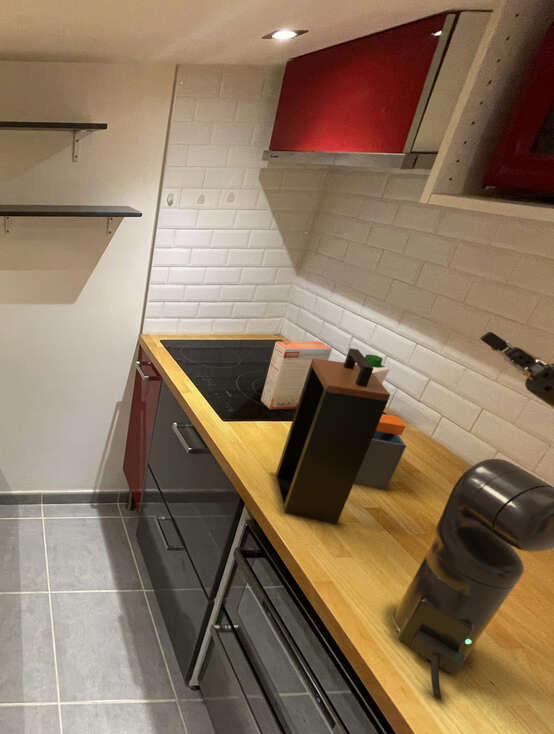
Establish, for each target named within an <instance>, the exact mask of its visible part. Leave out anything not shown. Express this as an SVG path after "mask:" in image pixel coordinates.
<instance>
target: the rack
mask: <svg viewBox="0 0 554 734" xmlns="http://www.w3.org/2000/svg"><path fill="white" fill-rule="evenodd" d="M355 363H357V364H355ZM372 371H373V367H372V366H371V364H370V363H369V362H368V361H367V360H366V358H365V356H364V355H363V354H362V353H361V351H360V350H359V349H358V348H349V349H348V351H347V354H346V357H345V360H344V361H335V360H329V359H328V360H322V359H314V358H313V359H312V362H311V365H310V368H309V371H308V374H307V377H306V381H305V384H304V387H303V390H302V393H301V396H300V399H299V402H298V406H297V409H295V412H294V415H293V418H292V421H291V424H290V428H289V432H288V434H287V436H286V437H287V438H286V441H285V444H284V447H283V449H282V452H281V456H280V459H279V462H278V465H277V469H276V471H275V475H274V477H275V481H276V485H277V489H278V493H279V496H280V501H281V505H282V509H283V512H284V513H285V514H288V515H292V516H293V515H294V516H298V517H300V518H301V517H302V518H307V519H310V520H315V521H318V522H323V523H327V524H332V525H338V522H339V521H340V517H341V515H342V513H343V511H344V508H345V505H346V503H347V501H348V498H349V495H350V494H351V491H352V489H353V486H354V484H355V483H354V481H355V479H356V477H357V474H358V472H359V469H360V467H361V465H362V462H363V460H364V457H365V455H366V453H367V450H368V448H369V445H370V443H371V441H372V438H373V436H374V433H375V431H376V429H377V426H378V424H379V421H380V419H381V416H382V414H384V411H385V409H386V406H387V404H388V402H389V400H390V397H391V393H390V392H389V391H388V390H387V388H386V387H385V386H384V385H383V383H382V384H381V383H380V381H379V380H378V379H377V378H376V376H375V375H374V374H373V373H372Z"/></svg>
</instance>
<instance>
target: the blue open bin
mask: <svg viewBox="0 0 554 734" xmlns="http://www.w3.org/2000/svg"><path fill="white" fill-rule="evenodd" d="M406 448H407V445H406V443H405V442H404V441H403V439H402V438H401V436H400V435H396V434H390V433H384V432H378V431H375V433H374V436H373V438H372V441H371V443H370V445H369V448H368V450H367V453H366V455H365V457H364V460H363V462H362V465H361V467H360V469H359V472H358V474H357V477H356V479H355V481H354V484H356V485H363V486H366V487H372V488H377V489H382V490H387V489H388V487H389V485H390V483H391V481H392V478H393V476H394V474H395V472H396V470H397V467H398V465H399V463H400V461H401V459H402V457H403V455H404V452H405V450H406Z"/></svg>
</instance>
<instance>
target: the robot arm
mask: <svg viewBox="0 0 554 734" xmlns="http://www.w3.org/2000/svg"><path fill="white" fill-rule="evenodd" d="M479 339H480V341H482V342H483V343H484V344H486V345H488V346H489V347H490V348H491V350H492V351H493V352H495V353H498V354H499V355H501V356H502V357H503V360H504V361H505V362H506V363H508V364H509V365H511V366H512V367H513V368H515V369H516V371H517V372H519V373H520V374H522V375H523V376H525V377H526V379H525V383H524V386H525V389H527V391H528V392H529V393H531V394H532V395H533V396H535V397H536V398H538V399H540V400H541V401H543V402H544V403H545V404H547V405H548V406H550V407H551V408H553V409H554V363H549V362H546V361H545V360H543V359H542V358H540V357H539V356H534V355H533V354H531V353H530V352H528V351H527V350H526V349H524V348H522V347H517V346H514V345H513V344H512V343H511V342H509V341H508V340H504V339H503V338H501V337H500V336H498V335H497V334H495V333H494V332H492V331H487V332H486V333H485V334H484V335H482V336H480V338H479ZM435 534H436V535H435V538H434V540H433V542H432V544H431V546H430V547H429V549H428V551H427V553H426V555H425V556H424V558H423V560H422V562H421V564H420V565H419V567H418V569H417V571H416V572H415V574H414V576H413V578H412V580H411V581H410V583H409V585H408V587H407V589H406V591H405V592H404V594H403V596H402V598H401V600H400V602H399V604H398V606H397V607H396V608H395V610H394V611H393V613H392V617H391V619H392V620H391V621H392V624H393V626H394V628H395V630H396V632H397V633H398V636H397V639H398V640H399V641H401V642H402V643H404V644H406V645H407V646H408V647H410V649H411V650H413V651H415V652H416V653H417V654H419V655H421V656H422V657H424V658H426V659H427V660H429V661H431V663H430V679H431V687H432V695H433V697H434V698H437V699H441V698H442V693H441V685H440V668H441V669H443V670H444V671H446V672H448V673H450V674H451V675H453V676H455V677H456V676H457V675H458V673H459V672H460V670H461V669H462V667H463V666H464V662H465V661H466V659H467V658H468V656H469V653H470V652H471V651H472V649H473V648H474V646H475V645H476V643H477V642H478V640H479V638H480V637H481V635H482V634H483V633H484V632H485V630H486V628H487V627H488V626H489V624H490V622H491V621H492V620H493V618H494V617H495V615H496V614H497V613H498V611H499V610H500V608H501V607H502V605H503V604H504V602H505V601H506V600H507V598H508V597H509V596H510V594H511V592H512V591H513V590H514V588H515V587H516V585H517V584H518V583H519V581H520V579H521V578H522V576H523V575H524V572H525V566H524V561H523V560H522V558H521V557H520V555H519V554H518V552H517V551H516V550H515V549H518V550H520V551H523V552H527V553H541V552H547V551H551V550H554V486H553V485H552V484H549V483H548V482H546V481H544V480H543V479H541V478H539V477H537V476H536V475H533V474H532V473H531V472H528V471H526V470H525V469H523V468H521V466H520V467H519V466H518V465H516V464H514V463H513V462H510V461H508V460H504V459H501V458H488V459H483V460H481V461H478V462H476V463H475V464H473V465H472V466H470V467H468V468H467V470H465V471H464V472H463V474H462V475H461V476H460V477H459V478H458V479H457V481H456V483H455V484H454V486H453V488H452V490H451V492H450V494H449V496H448V499H447V501H446V504H445V506H444V508H443V511H442V513H441V516H440V517H439V519H438V522H437V523H436V527H435ZM514 548H515V549H514Z"/></svg>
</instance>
